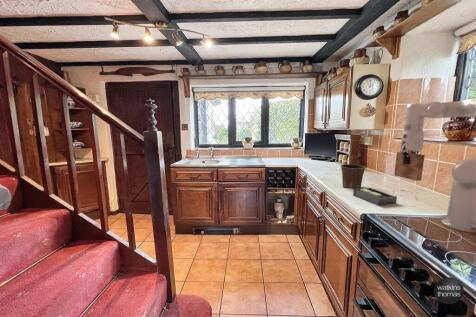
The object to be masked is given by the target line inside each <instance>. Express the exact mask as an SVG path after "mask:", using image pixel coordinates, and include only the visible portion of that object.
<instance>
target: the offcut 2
mask: <svg viewBox="0 0 476 317" xmlns="http://www.w3.org/2000/svg"><path fill="white" fill-rule="evenodd" d="M369 195H372V196H375V197H377V198H381V196H382V195H381V194H379V193H376V192H369Z"/></svg>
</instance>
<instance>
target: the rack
mask: <svg viewBox="0 0 476 317" xmlns="http://www.w3.org/2000/svg"><path fill="white" fill-rule="evenodd" d="M360 189H361V188H358V189H354V188H353V190H352V191H353V193H352V196H353V197H356V198H358V199H361V200H363V201H366V202H368V203H370V204H373V205H375V206H377V207H378V206H386V205H393V204H397V200H398V199H397V196H394V195H391V194H389V193H387V192H383V191H380V190H377V189H374V188H373V187H366V188H362V189H367V190H370V191H372V192H376V193H379V194H381V195H382V196H381V198H377V197H375V196H372V195H369V194H367V193H364V192H361V191H360Z"/></svg>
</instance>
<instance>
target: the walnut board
mask: <svg viewBox="0 0 476 317" xmlns="http://www.w3.org/2000/svg"><path fill="white" fill-rule="evenodd" d="M395 156H396V157H395V167H394V176H395V177H399V178H403V179H407V180H411V181H415V182H416V181H417V182H418V181H419V182H420V181H422V176H423V170H424V162H425V154H420V153H418V154H414V153H410V156H409V157H410V164H409V165H408V164H403V157H404V156H403V154H402V153H401V152H400V151H396V155H395Z"/></svg>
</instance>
